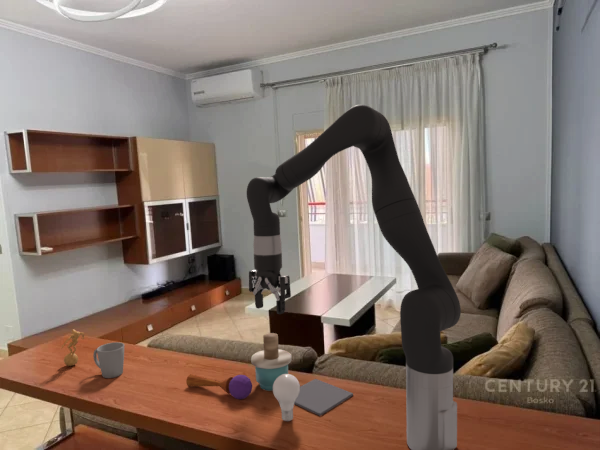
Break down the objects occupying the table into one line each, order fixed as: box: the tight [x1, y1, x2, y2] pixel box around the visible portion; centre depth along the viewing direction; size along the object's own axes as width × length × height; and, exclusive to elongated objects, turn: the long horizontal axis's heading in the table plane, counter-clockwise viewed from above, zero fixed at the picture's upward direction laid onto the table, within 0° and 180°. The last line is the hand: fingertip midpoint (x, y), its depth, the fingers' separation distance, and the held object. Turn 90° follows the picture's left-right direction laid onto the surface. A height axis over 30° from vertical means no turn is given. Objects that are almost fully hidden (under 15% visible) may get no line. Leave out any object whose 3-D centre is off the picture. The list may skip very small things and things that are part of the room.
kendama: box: [185, 373, 253, 400], centre depth 114 cm, size 6×6×20 cm
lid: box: [250, 332, 292, 369], centre depth 116 cm, size 11×11×7 cm
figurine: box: [61, 328, 85, 367], centre depth 133 cm, size 8×6×12 cm
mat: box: [294, 378, 354, 417], centre depth 109 cm, size 13×13×1 cm
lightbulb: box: [272, 373, 301, 422], centre depth 98 cm, size 6×6×11 cm
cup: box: [93, 341, 125, 379], centre depth 127 cm, size 8×10×8 cm
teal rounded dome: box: [254, 364, 289, 392], centre depth 117 cm, size 9×9×7 cm
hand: (269, 310), depth 115 cm, fingers open, 8 cm apart
